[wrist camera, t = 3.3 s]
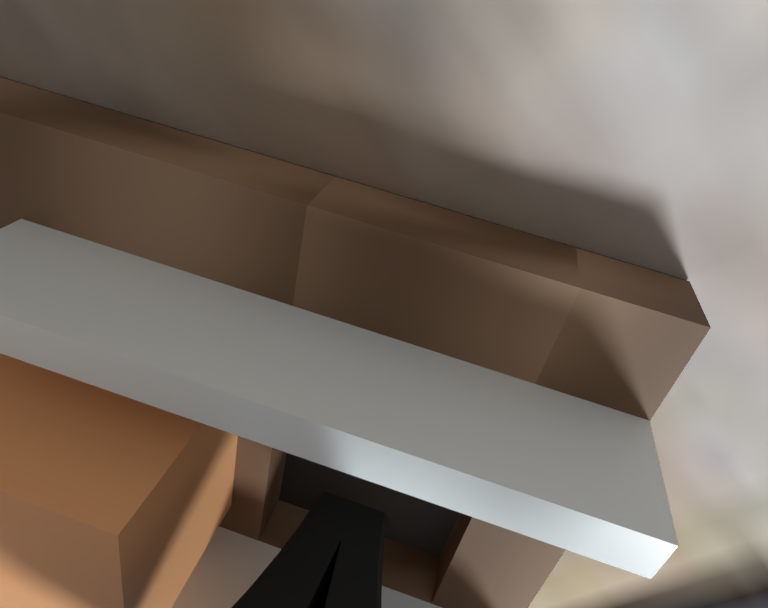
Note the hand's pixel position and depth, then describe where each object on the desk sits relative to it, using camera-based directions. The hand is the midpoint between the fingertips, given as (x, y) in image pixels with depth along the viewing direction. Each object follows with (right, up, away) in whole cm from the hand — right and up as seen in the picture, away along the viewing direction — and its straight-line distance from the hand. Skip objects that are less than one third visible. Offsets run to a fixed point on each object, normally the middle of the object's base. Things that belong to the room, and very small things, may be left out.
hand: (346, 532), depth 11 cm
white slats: (-1, +1, +1) cm, 2 cm away
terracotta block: (-5, +2, +1) cm, 5 cm away
